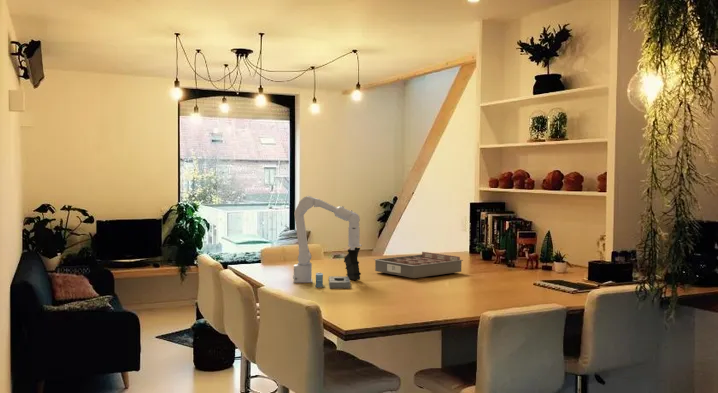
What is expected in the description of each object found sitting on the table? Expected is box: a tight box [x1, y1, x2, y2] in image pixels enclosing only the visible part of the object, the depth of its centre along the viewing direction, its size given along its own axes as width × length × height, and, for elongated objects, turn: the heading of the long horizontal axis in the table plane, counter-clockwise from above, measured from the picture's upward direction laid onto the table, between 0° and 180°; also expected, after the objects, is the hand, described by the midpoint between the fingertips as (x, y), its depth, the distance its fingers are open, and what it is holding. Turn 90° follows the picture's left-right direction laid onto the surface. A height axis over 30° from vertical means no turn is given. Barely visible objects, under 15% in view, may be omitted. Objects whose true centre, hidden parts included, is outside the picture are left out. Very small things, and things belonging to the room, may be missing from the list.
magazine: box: [343, 253, 362, 281], centre depth 322 cm, size 4×13×15 cm, turn 23°
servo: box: [315, 272, 324, 288], centre depth 301 cm, size 3×10×6 cm, turn 4°
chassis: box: [328, 275, 351, 290], centre depth 304 cm, size 10×18×3 cm, turn 4°
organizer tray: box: [373, 251, 464, 279], centre depth 345 cm, size 32×40×10 cm
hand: (353, 262), depth 313 cm, fingers open, 6 cm apart
